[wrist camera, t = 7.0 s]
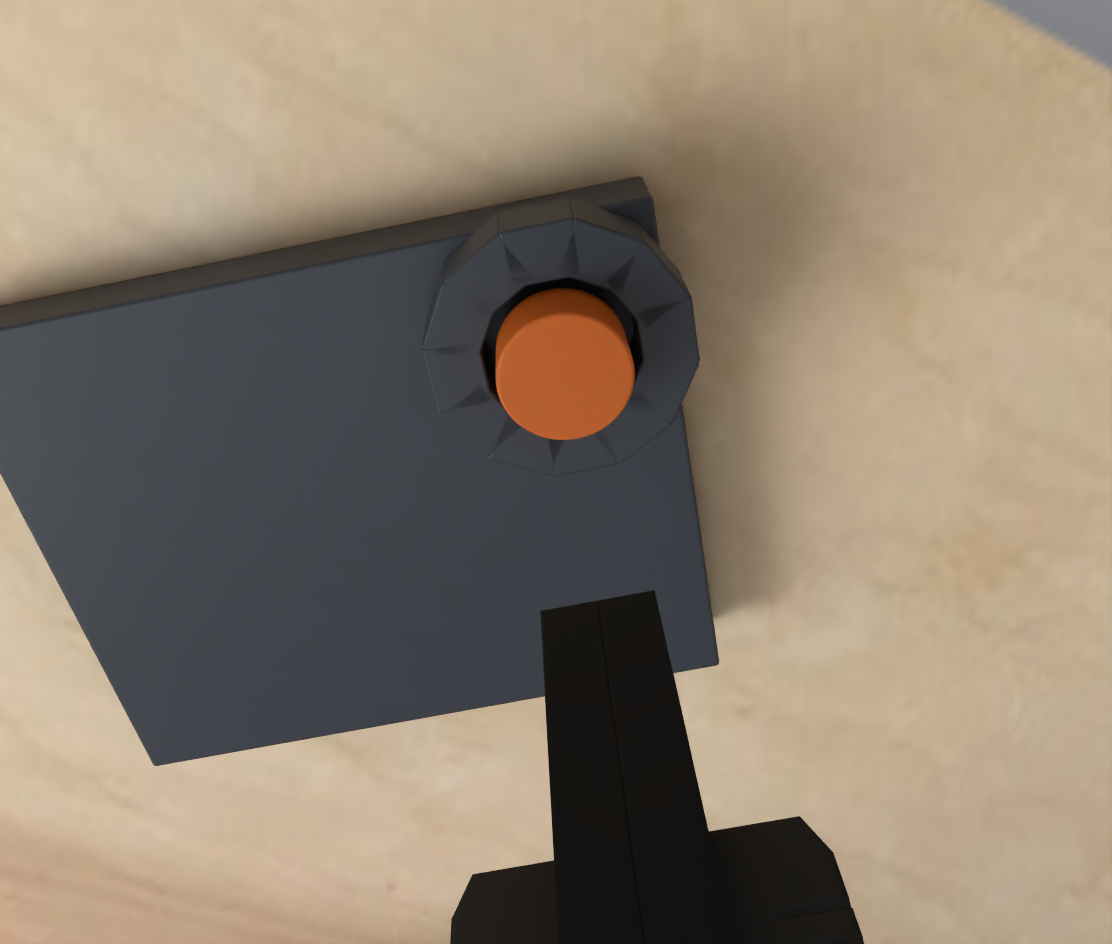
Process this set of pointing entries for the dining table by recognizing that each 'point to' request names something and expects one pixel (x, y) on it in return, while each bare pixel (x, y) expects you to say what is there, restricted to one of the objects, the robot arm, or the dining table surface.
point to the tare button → (563, 364)
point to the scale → (350, 472)
